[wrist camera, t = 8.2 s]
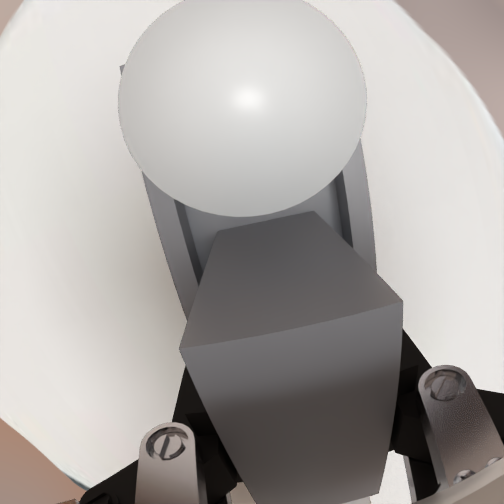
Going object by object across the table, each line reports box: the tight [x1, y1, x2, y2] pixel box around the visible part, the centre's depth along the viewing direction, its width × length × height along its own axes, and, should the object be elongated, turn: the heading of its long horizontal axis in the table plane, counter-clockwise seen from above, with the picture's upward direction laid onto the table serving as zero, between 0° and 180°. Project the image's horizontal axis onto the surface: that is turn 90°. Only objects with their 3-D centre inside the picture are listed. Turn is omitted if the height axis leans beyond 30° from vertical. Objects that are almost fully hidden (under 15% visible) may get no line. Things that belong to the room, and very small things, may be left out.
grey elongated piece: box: [118, 0, 403, 504], centre depth 10 cm, size 20×7×8 cm, turn 12°
